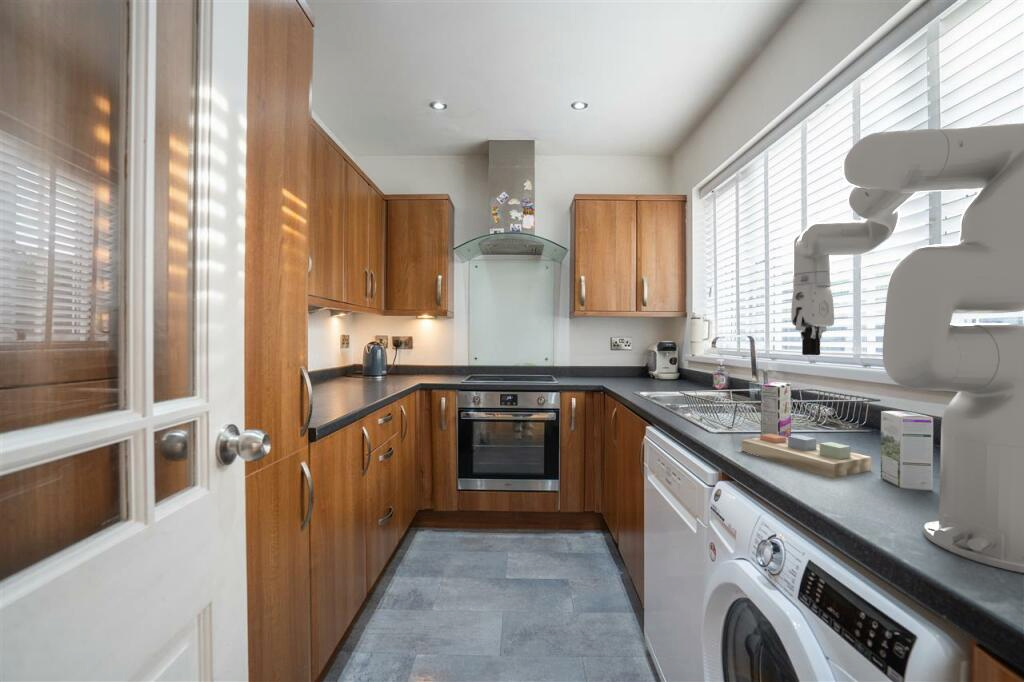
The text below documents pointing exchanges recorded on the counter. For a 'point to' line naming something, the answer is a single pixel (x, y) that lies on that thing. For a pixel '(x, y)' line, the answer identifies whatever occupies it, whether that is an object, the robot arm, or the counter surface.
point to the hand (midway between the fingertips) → (811, 354)
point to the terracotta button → (773, 438)
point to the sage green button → (835, 450)
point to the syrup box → (907, 449)
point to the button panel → (808, 458)
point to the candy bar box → (776, 409)
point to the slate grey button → (802, 442)
